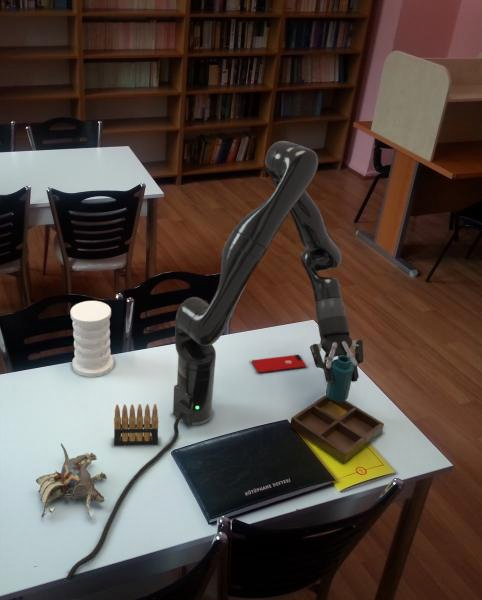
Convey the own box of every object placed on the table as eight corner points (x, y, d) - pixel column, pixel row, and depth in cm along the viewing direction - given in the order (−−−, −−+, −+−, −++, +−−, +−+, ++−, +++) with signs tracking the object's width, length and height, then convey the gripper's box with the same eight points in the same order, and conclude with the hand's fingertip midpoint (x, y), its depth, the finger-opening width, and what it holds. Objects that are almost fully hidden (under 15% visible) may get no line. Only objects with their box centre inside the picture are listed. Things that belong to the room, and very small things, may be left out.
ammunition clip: (113, 445, 148) (112, 407, 142) (114, 440, 149) (113, 401, 143) (158, 444, 149) (159, 406, 143) (158, 439, 150) (159, 401, 145)
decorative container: (80, 350, 181) (77, 297, 172) (118, 355, 180) (117, 302, 171) (66, 373, 171) (62, 319, 162) (106, 379, 170) (105, 324, 161)
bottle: (339, 405, 156) (346, 368, 150) (321, 393, 159) (327, 358, 153) (352, 395, 159) (360, 360, 153) (334, 385, 162) (341, 349, 157)
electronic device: (258, 373, 176) (306, 367, 180) (258, 371, 176) (306, 365, 180) (251, 361, 181) (298, 355, 185) (251, 360, 181) (298, 354, 185)
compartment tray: (343, 463, 147) (345, 454, 146) (289, 426, 157) (291, 417, 156) (381, 432, 157) (384, 423, 156) (329, 400, 168) (330, 391, 166)
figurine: (127, 483, 131) (59, 527, 120) (126, 501, 134) (60, 545, 124) (73, 430, 142) (7, 466, 132) (74, 448, 146) (9, 484, 135)
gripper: (311, 316, 153) (322, 383, 150) (363, 312, 157) (375, 377, 153) (300, 323, 161) (311, 387, 157) (351, 319, 164) (362, 381, 160)
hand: (342, 382), depth 155 cm, fingers closed on bottle, 6 cm apart
